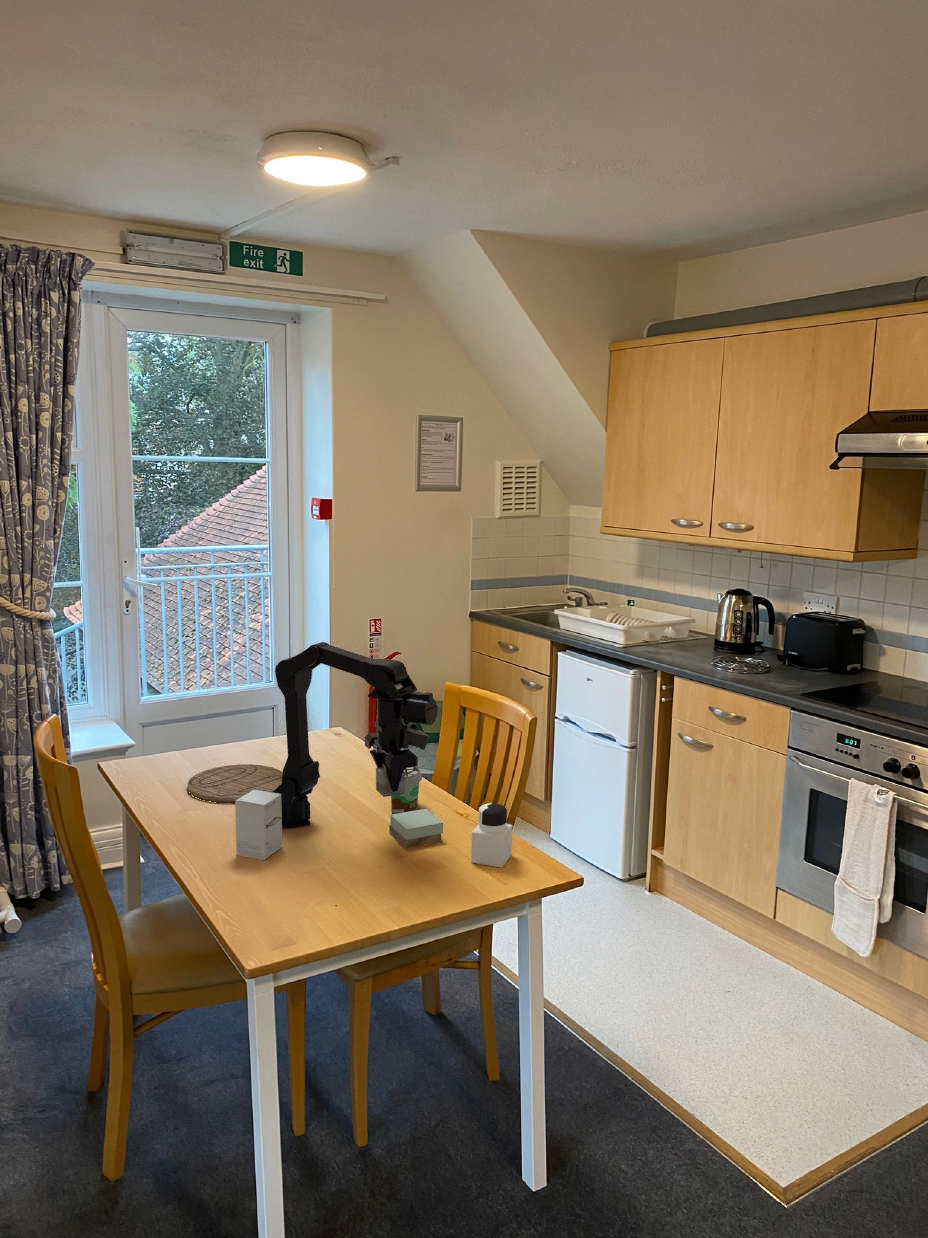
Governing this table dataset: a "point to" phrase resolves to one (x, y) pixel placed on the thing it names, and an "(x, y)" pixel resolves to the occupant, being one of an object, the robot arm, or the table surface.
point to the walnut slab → (415, 841)
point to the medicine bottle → (492, 836)
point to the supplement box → (258, 824)
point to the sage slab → (416, 824)
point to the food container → (408, 792)
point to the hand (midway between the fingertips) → (390, 787)
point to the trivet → (233, 782)
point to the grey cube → (384, 785)
